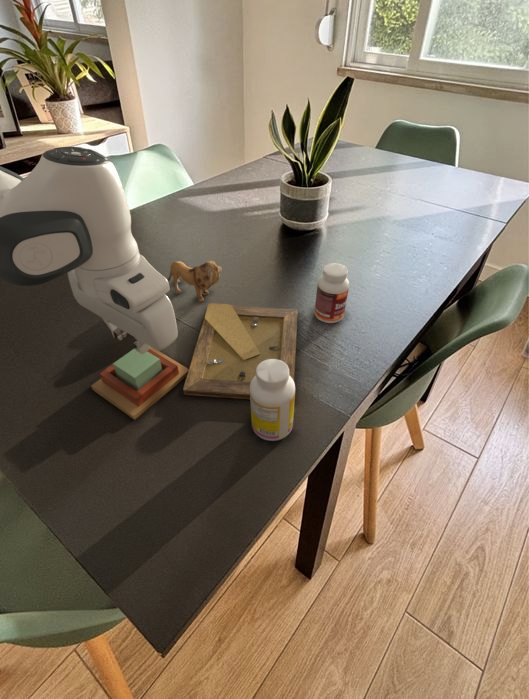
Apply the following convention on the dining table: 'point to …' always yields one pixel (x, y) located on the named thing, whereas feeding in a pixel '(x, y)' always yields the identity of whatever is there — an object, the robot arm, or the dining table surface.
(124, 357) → the green block
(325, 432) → the dining table surface
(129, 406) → the wooden framed tray
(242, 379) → the picture frame
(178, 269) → the lion figurine
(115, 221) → the robot arm
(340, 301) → the pill bottle
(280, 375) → the supplement bottle
